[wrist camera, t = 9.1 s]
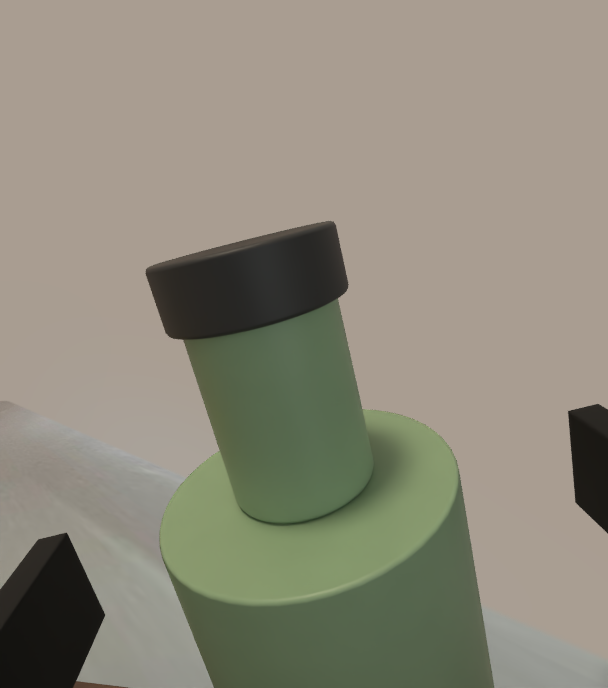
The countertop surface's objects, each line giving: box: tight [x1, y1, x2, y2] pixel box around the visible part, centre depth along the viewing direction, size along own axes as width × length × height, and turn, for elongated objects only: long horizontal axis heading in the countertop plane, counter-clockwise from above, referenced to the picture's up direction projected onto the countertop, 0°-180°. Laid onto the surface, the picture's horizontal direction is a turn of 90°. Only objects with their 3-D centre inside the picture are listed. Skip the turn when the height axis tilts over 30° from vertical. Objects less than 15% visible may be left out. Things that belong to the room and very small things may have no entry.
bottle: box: [146, 221, 494, 688], centre depth 9 cm, size 5×5×16 cm
